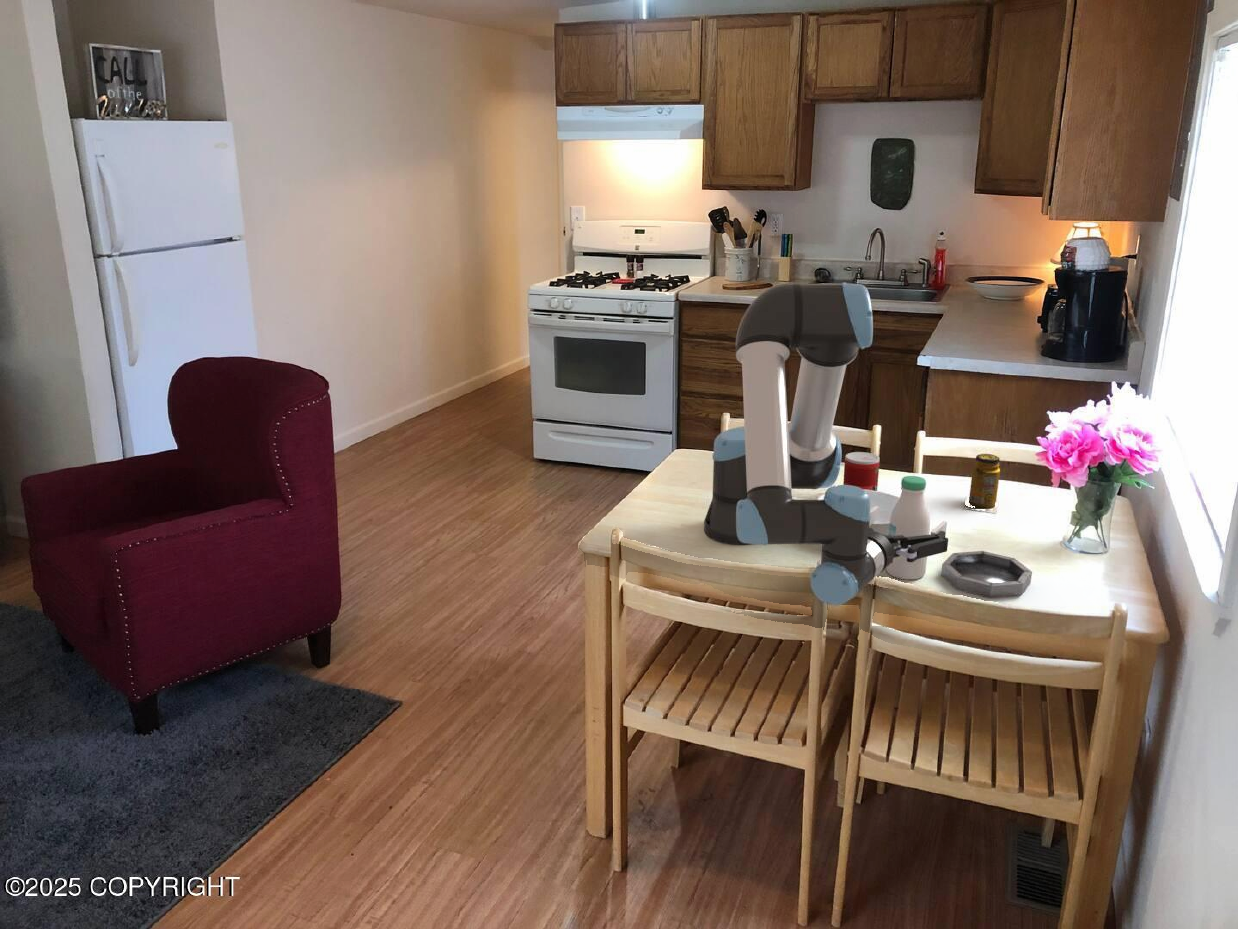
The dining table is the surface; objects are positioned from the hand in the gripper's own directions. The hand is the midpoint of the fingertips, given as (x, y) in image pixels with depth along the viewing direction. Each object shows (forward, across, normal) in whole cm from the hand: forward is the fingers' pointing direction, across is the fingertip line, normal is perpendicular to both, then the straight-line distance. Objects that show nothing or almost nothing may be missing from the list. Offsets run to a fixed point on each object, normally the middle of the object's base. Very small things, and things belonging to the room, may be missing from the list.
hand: (909, 520), depth 187 cm
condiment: (+47, 0, -12) cm, 49 cm away
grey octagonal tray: (+7, +14, -12) cm, 19 cm away
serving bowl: (+15, -16, -12) cm, 25 cm away
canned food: (+34, -25, -12) cm, 44 cm away
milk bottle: (+1, 0, -12) cm, 12 cm away
